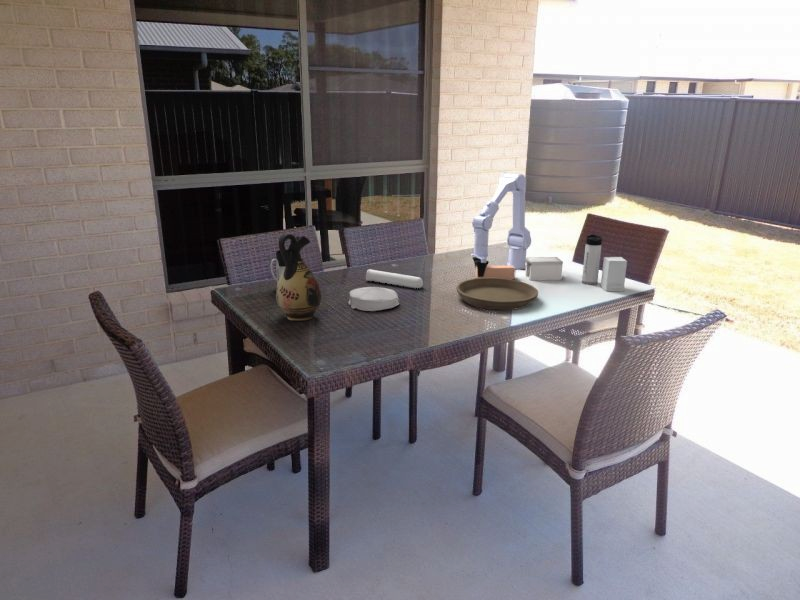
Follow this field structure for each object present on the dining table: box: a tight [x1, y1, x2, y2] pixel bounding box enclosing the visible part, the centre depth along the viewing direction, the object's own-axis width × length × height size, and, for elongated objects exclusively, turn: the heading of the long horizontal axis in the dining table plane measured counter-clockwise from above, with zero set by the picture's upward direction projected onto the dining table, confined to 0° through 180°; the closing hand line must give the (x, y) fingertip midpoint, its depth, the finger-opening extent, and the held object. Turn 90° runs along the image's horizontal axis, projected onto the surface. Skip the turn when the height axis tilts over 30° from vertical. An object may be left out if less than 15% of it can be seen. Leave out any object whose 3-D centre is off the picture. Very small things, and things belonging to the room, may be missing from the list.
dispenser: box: [524, 256, 564, 281], centre depth 261 cm, size 8×15×8 cm, turn 94°
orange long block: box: [474, 265, 516, 280], centre depth 260 cm, size 4×16×5 cm, turn 94°
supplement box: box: [600, 256, 628, 292], centre depth 245 cm, size 7×7×13 cm
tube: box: [365, 268, 424, 290], centre depth 250 cm, size 5×5×25 cm
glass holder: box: [270, 249, 291, 284], centre depth 241 cm, size 9×14×15 cm, turn 155°
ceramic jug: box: [275, 232, 322, 321], centre depth 207 cm, size 17×15×30 cm
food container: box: [347, 286, 401, 312], centre depth 226 cm, size 20×20×7 cm
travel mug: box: [581, 234, 603, 286], centre depth 252 cm, size 6×7×20 cm
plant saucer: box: [456, 277, 539, 311], centre depth 232 cm, size 31×31×5 cm
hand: (479, 275), depth 260 cm, fingers closed on orange long block, 4 cm apart
